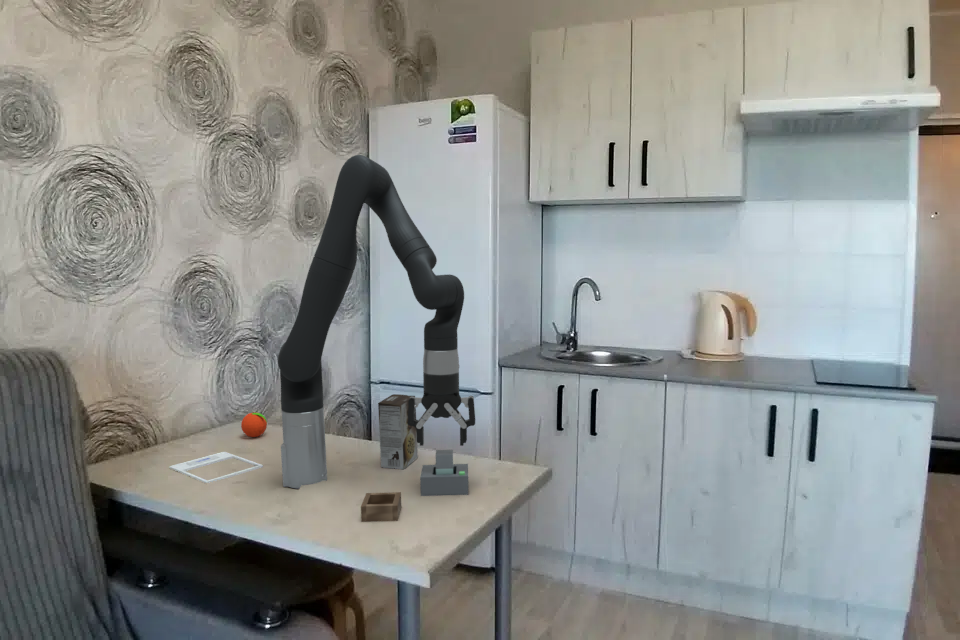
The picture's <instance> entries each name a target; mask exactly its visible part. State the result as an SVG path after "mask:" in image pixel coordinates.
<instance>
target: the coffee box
mask: <svg viewBox="0 0 960 640" xmlns="http://www.w3.org/2000/svg"><path fill="white" fill-rule="evenodd" d="M411 396H412V395H407V394H391V395H389V396H388V397H386V398H384V399H383V400H381V401H378V403H377V405H378V406H377V407H378V425H379V426H378V427H379V428H378V429H379V448H380V449H379V451H380V452H379V453H380V454H379V455H380V467H381V468H382V467H383V468H382V469H394V468H395V470H397V469H398V470H405V469H407V467H409V466H410V465H411V464H412V463H413V462H415V461H416V459H418V457H419V455H418V451H419V450H418V443H417V432H416V428H415V427H414V426H409V425H408V404H409V399H410V397H411ZM415 419H416V420H417V408H415Z"/></svg>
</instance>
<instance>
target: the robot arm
mask: <svg viewBox="0 0 960 640" xmlns="http://www.w3.org/2000/svg"><path fill="white" fill-rule="evenodd" d="M335 184H336V185H335V188H334V192H333V197H332V200H331V204H330V209H329V213H328V216H327V219H326V222H325V224H324V227H323V230H322V233H321V237H320V239H319V242H318V244H317V248H316V250H315V252H314V255H313V257H312V260H311V263H310V266H309V268H308V272H307V275H306V278H305V282H304V286H303V290H302V294H301V299H300V305H299V308H298V313H297V316H296V319H295V321H294V324H293V325H292V328H291V330H290V332H289V334H288V337H287V338H286V340H285V341H284V343H283V345H282V346H281V347H280V349H279V351H278V355H277V365H278V369H279V375H280V409H281V422H282V423H281V424H282V444H281V445H280V456H281V458H280V459H281V473H282V474H281V475H282V487H284V488H285V487H287V488H288V487H289V488H292V489H300V488H301V487H302V486H309V485H314V484H318V483H321V482H323V481H325V482H326V481H328V468H327V450H326V449H327V447H326V432H325V429H326V428H325V411H324V386H323V370H322V369H323V368H322V358H323V353H324V349H325V344H326V341H327V337H328V333H329V331H330V327H331V324H332V323H333V320H334V319H335V317H336V315H337V312H338V311H339V308H340V306H341V304H342V302H343V300H344V297H345V294H346V293H347V291H348V288H349V285H350V283H351V280H352V277H353V274H354V271H355V269H356V265H357V260H358V243H357V242H358V241H357V238H358V237H357V228H358V227H357V226H358V221H359V218H360V217H359V216H360V215H361V212H362V209H363V206H364V204H366V205H367V206H368V207H369V208H370V209H371V210H372V211H373V212H374V214H376V215H377V217H378V219H380V221H381V223H382V224H383V226H384V228H385V232H386V236H387V239H388V243H389V245H390V247H391V248H392V251H393V253H394V254H395V256H396V257H397V258H398V261H399V262H400V264H401V265H402V266H403V268H404V269H405V271H406V272H407V277H408V281H409V283H410V287H411V289H412V293H413V295H414V297H415V299H416V301H417V302H418V304H419V305H420V306H422V307H423V308H424V309H426V310H429V311H435V314H434V316H433V318H432V319H431V320H429V321H428V322H426V323H425V325H424V327H423V359H422V360H423V361H422V368H423V369H422V370H423V373H422V374H423V375H422V376H423V377H422V378H423V380H422V381H423V394H422V397H416V395H410V396H411V397H410V399H409V404H408V425H409V426H414V427H415V428H416V432H417V444H419V446H420V447H423V446H424V444H425V430H424V429H425V428H424V426H425V424H426V423H427V421H428V420H429V418H430V417H432V418H434V419H439V418H444V419H449V418H451V417H452V418H453V419H454V421H456V422H457V424H458V425H459V426H460V427H459V446H461V447H463V446H464V444H466V443H467V441H468V437H467V436H468V431H467V430H468V428H469V427H473V426H475V424H476V409H475V398H474V396H473V395H469V396H467V397H466V396H465V397H464V396H463V397H461V395H460V358H459V351H458V328H459V324H460V320H461V315H462V311H463V308H464V307H463V306H464V302H465V291H464V286H463V283H462V281H461V280H460V279H459V277H458V276H456V275H454V274H435V272H434V271H433V269H434V268H435V267H436V265H437V261H438V259H437V256H436V254H435V252H434V251H433V249H432V248H431V246H430V245H429V244H428V242H427V240H426V239H425V237H424V236H423V234H422V233H421V232H420V230H419V229H418V227H417V226H416V224H415V222H414V221H413V220H412V217H411V216H410V215H409V213H408V211H407V209H406V208H405V205H404V204H403V200H402V199H401V197H400V195H399V193H398V190H397V188H396V186H395V184H394V181H393V179H392V176H391V175H390V173H389V172H388V170H387V169H386V168H385V167H384V166H382V165H381V164H379V163H378V162H376V161H374V160H372V159H371V158H369V157H368V156H365V155H362V154H355V155H352V156H351V157H349V158H348V159H347V160H346V161H345V162H344V164H342V167H341V169H340V171H339V174H338V177H337V180H336V183H335ZM419 404H421V405H422V406H423V407H424V409H425V411H424V412H423V414H422V415H421V416H420V418H419V419H417V418H416V419H415V408H416V409H417V408H418V407H419ZM461 404H464V407H465V408H466V409H467V408H468V418H467V419H465V417H464V416H463V414H462V412H460V411H459V409H458V408H459V407H460V406H461Z"/></svg>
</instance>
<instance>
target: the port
mask: <svg viewBox="0 0 960 640" xmlns="http://www.w3.org/2000/svg"><path fill="white" fill-rule="evenodd" d="M419 482H420V483H419V484H420V497H430V496H431V497H436V496H467V495H469V463H453V474H440V475H436V464H422V467H421V472H420V476H419Z"/></svg>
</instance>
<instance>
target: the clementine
mask: <svg viewBox="0 0 960 640" xmlns="http://www.w3.org/2000/svg"><path fill="white" fill-rule="evenodd" d="M240 424H241V426H240V427H241V430H242V432H243V433H244V434H245V436H247V437H249V438H258V437H259V436H261V435H263V434H264V433H265V431H266V430H267V426H268V421H267V418H266V417H265V415H263V414H262V413H260V412H254V411H253V412H250V413H247V414H246V415H245V416H243V418H242V420H241V423H240Z"/></svg>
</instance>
